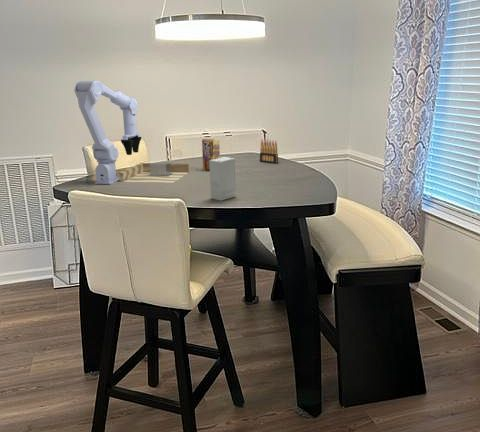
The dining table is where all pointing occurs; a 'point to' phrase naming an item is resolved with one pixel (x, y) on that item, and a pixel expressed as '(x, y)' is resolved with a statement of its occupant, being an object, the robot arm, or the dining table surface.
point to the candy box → (210, 152)
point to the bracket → (160, 169)
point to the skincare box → (222, 178)
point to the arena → (143, 175)
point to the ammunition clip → (268, 152)
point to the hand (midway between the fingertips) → (132, 153)
